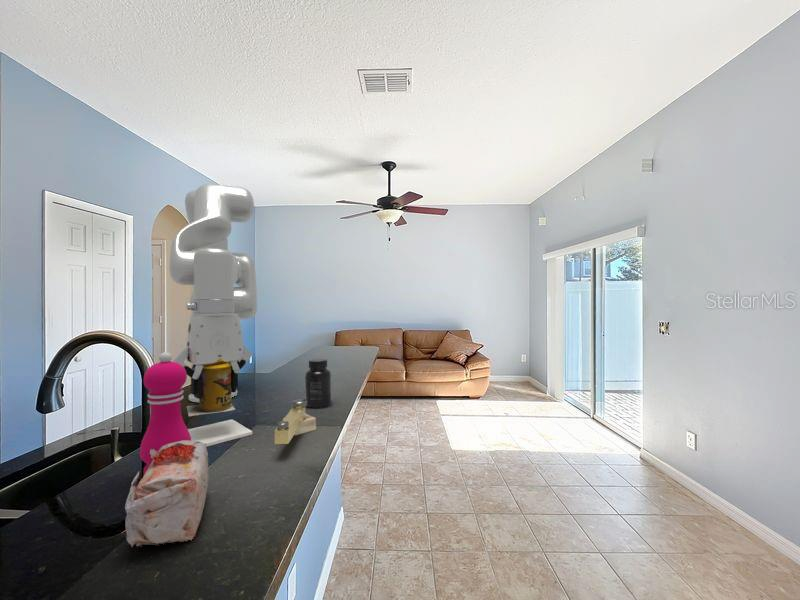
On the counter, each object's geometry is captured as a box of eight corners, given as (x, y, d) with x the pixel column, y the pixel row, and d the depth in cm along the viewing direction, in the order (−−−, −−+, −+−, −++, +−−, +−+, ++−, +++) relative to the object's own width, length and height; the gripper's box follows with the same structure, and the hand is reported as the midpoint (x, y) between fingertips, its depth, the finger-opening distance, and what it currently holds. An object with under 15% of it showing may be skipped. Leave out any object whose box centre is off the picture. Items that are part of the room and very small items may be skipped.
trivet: (178, 434, 80) (178, 431, 80) (232, 421, 87) (232, 419, 87) (195, 449, 72) (195, 446, 72) (252, 434, 79) (252, 431, 79)
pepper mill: (201, 467, 64) (200, 350, 64) (162, 488, 57) (161, 356, 57) (170, 461, 66) (168, 348, 66) (128, 481, 60) (127, 354, 59)
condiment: (235, 410, 78) (235, 352, 78) (188, 417, 73) (188, 355, 73) (230, 402, 84) (229, 348, 84) (186, 408, 80) (186, 351, 80)
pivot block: (283, 429, 82) (283, 418, 82) (304, 423, 86) (303, 412, 86) (295, 435, 79) (295, 423, 79) (316, 429, 82) (315, 418, 82)
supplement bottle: (336, 403, 102) (336, 359, 102) (318, 410, 96) (318, 363, 96) (318, 400, 105) (317, 357, 105) (299, 406, 100) (299, 360, 99)
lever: (272, 444, 67) (272, 425, 67) (293, 414, 84) (293, 399, 84) (290, 443, 67) (290, 424, 67) (308, 414, 84) (308, 398, 84)
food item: (202, 545, 44) (201, 462, 44) (120, 564, 41) (119, 474, 41) (211, 490, 57) (210, 425, 57) (149, 501, 54) (148, 432, 54)
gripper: (172, 309, 70) (173, 406, 70) (262, 307, 83) (262, 390, 83) (162, 309, 76) (163, 398, 76) (247, 307, 88) (248, 384, 88)
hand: (215, 393), depth 79 cm, fingers closed on condiment, 6 cm apart
